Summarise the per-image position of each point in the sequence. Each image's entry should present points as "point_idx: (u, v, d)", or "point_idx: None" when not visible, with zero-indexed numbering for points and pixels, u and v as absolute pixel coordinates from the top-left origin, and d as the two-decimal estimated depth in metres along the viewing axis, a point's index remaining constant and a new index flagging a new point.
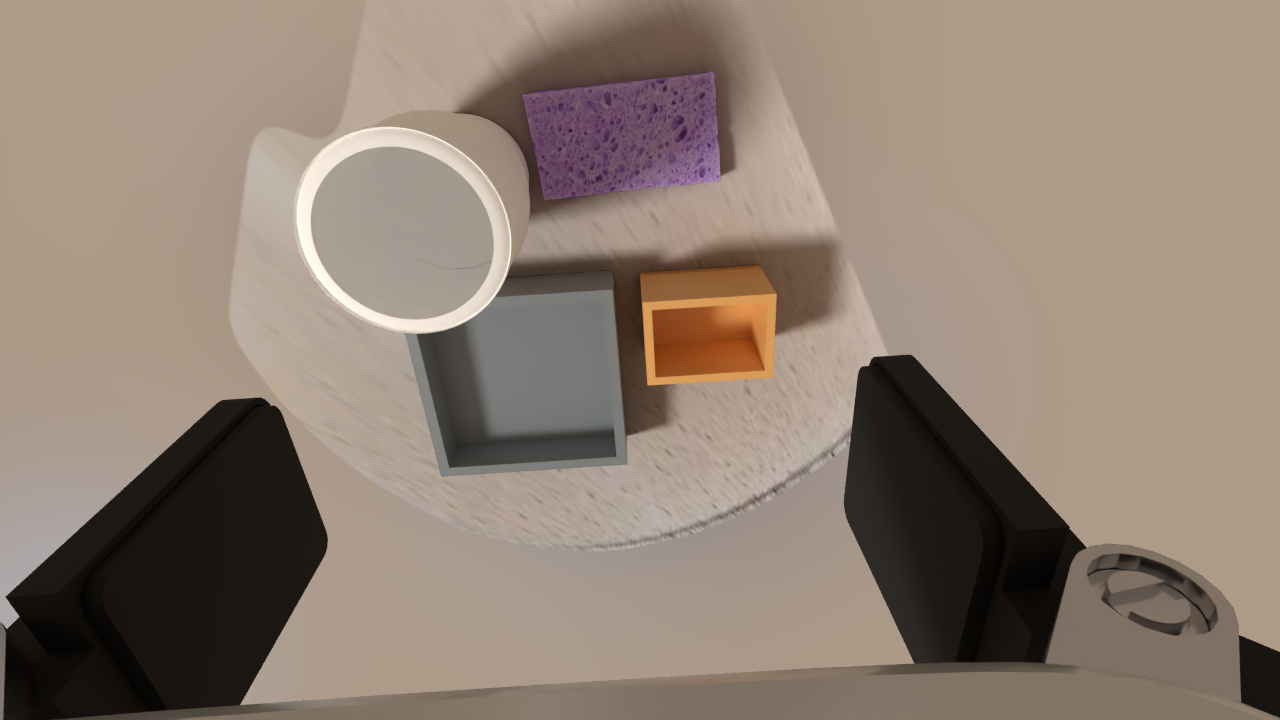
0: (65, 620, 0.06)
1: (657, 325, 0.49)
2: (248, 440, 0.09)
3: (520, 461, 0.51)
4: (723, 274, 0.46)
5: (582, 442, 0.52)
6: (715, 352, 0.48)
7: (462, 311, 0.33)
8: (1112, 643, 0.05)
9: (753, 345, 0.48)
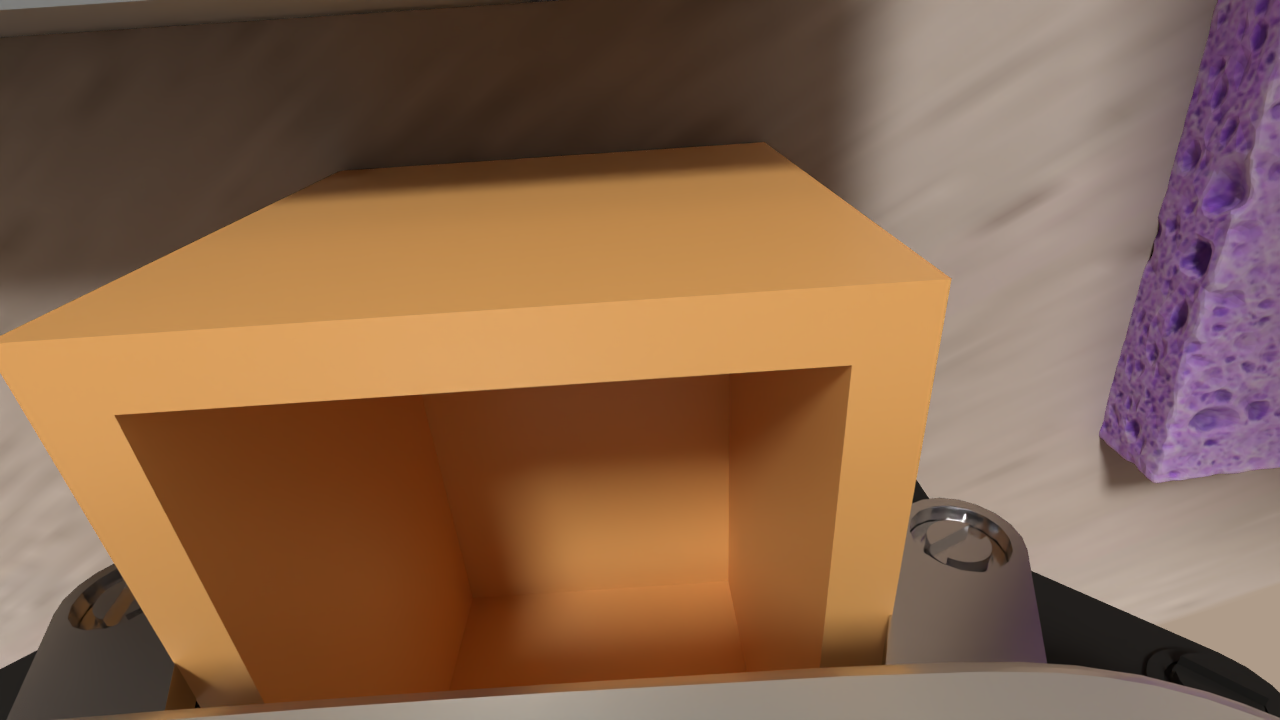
0: None
1: None
2: None
3: None
4: None
5: None
6: (407, 562, 0.10)
7: None
8: (937, 590, 0.06)
9: (458, 655, 0.12)
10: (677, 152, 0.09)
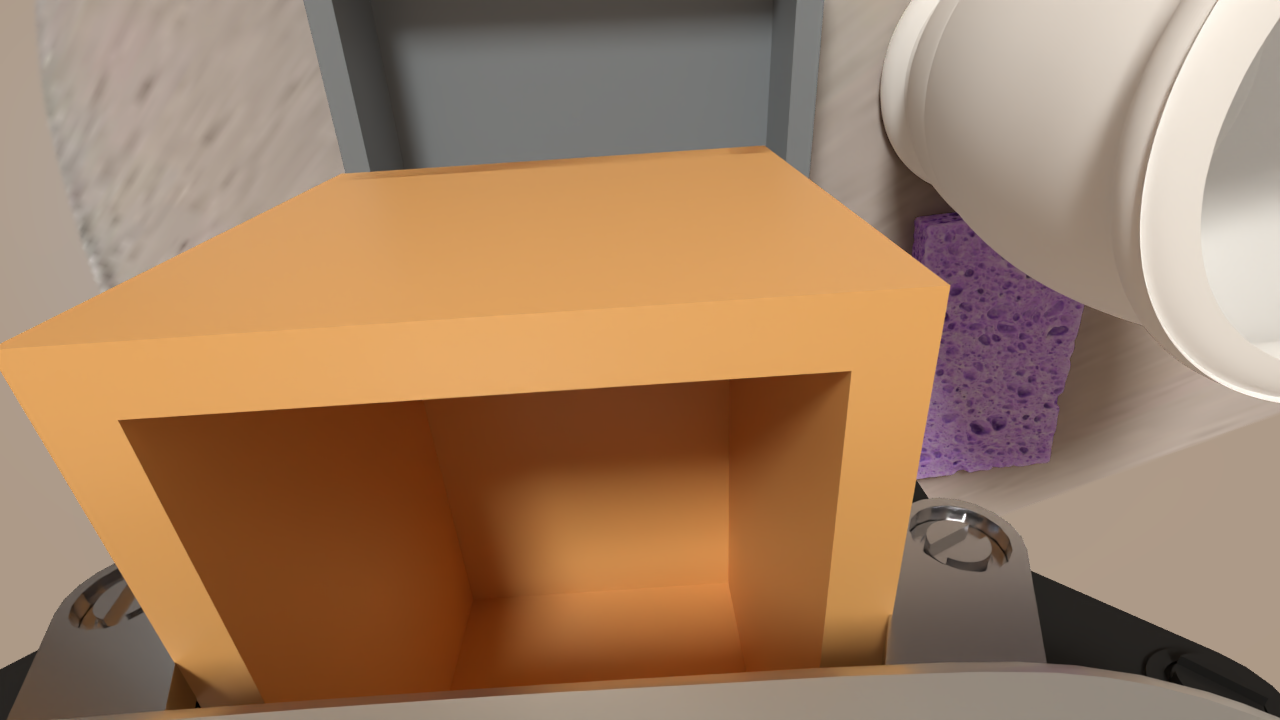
0: None
1: None
2: None
3: (367, 141, 0.20)
4: None
5: None
6: (408, 564, 0.10)
7: (1183, 265, 0.11)
8: (937, 590, 0.06)
9: (458, 657, 0.12)
10: (677, 155, 0.09)
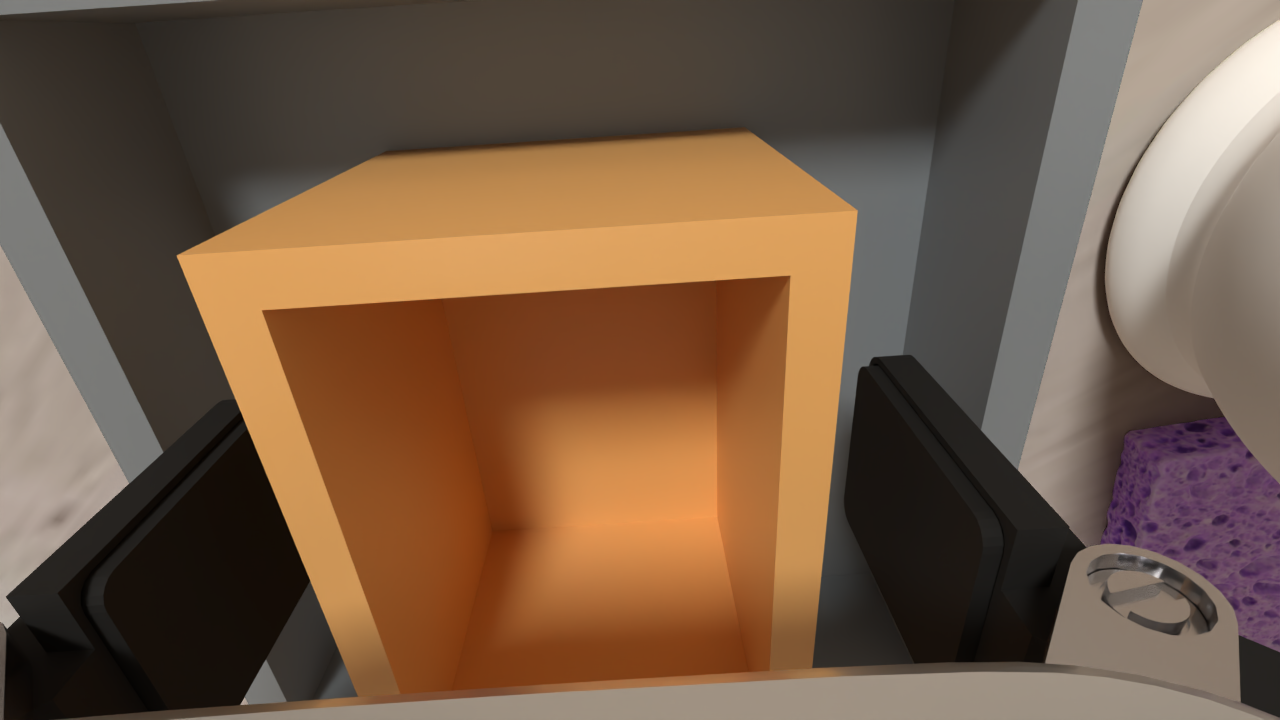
0: (65, 620, 0.06)
1: None
2: (248, 440, 0.09)
3: (161, 416, 0.10)
4: None
5: None
6: (442, 482, 0.11)
7: None
8: (1111, 643, 0.05)
9: (481, 575, 0.13)
10: (671, 135, 0.11)
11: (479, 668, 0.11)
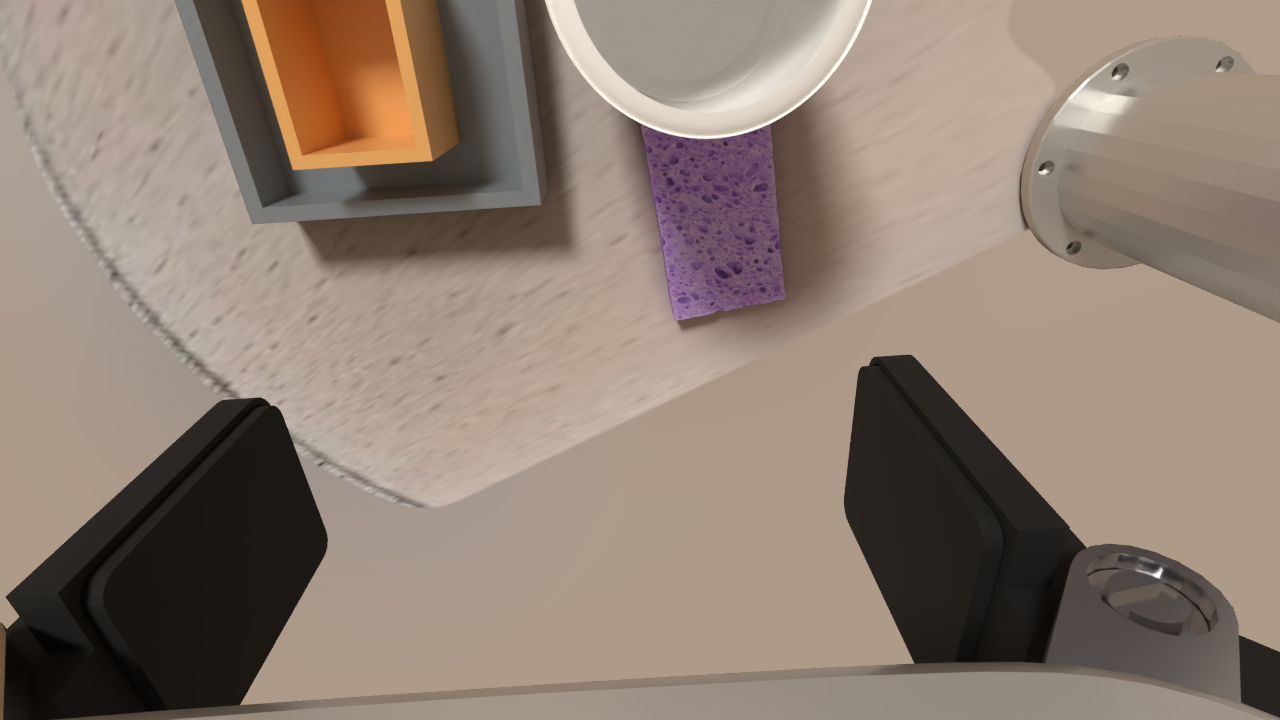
0: (65, 620, 0.06)
1: None
2: (248, 440, 0.09)
3: (209, 39, 0.29)
4: (443, 84, 0.31)
5: (266, 142, 0.33)
6: (313, 77, 0.30)
7: (582, 43, 0.20)
8: (1111, 643, 0.05)
9: (337, 141, 0.32)
10: None
11: (327, 148, 0.30)
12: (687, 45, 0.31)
